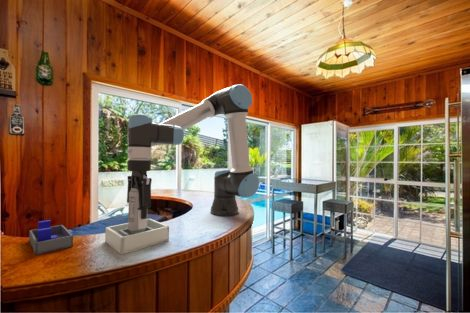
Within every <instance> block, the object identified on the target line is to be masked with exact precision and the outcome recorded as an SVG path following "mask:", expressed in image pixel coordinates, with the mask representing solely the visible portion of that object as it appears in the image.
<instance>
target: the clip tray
mask: <svg viewBox="0 0 470 313" xmlns="http://www.w3.org/2000/svg"><path fill="white" fill-rule="evenodd" d="M50 228H51V236H53V235H57V238H56V239H51V240H46V241H41V242H38V228H35V229H31V230H29V232H28V233H29V235H28V236H29V238H28V241H29V243H30V245H31V248H32V251H33V253H34V255H35V256H37V255H43V254H46V253H50V252H54V251H59V250H64V249H67V248H72V247H73V246H74V235H73V234H72V233H71V232H70V231H69V230H68V229H67V228H66V227H65V226H64V225H63V224H59V225H54V226H50Z"/></svg>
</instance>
